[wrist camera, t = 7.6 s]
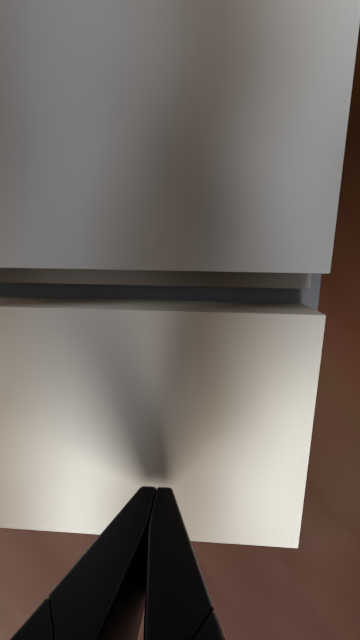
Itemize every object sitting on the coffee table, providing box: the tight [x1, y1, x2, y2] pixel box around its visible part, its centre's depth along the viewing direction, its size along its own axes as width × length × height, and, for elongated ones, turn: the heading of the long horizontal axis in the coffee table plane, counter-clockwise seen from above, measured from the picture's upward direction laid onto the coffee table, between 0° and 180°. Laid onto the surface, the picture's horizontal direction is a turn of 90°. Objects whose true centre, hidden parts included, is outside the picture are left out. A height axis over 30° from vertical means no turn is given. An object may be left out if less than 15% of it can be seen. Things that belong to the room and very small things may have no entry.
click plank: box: [0, 296, 326, 548], centre depth 10 cm, size 18×7×2 cm, turn 89°
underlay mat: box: [0, 273, 322, 311], centre depth 10 cm, size 19×17×1 cm
